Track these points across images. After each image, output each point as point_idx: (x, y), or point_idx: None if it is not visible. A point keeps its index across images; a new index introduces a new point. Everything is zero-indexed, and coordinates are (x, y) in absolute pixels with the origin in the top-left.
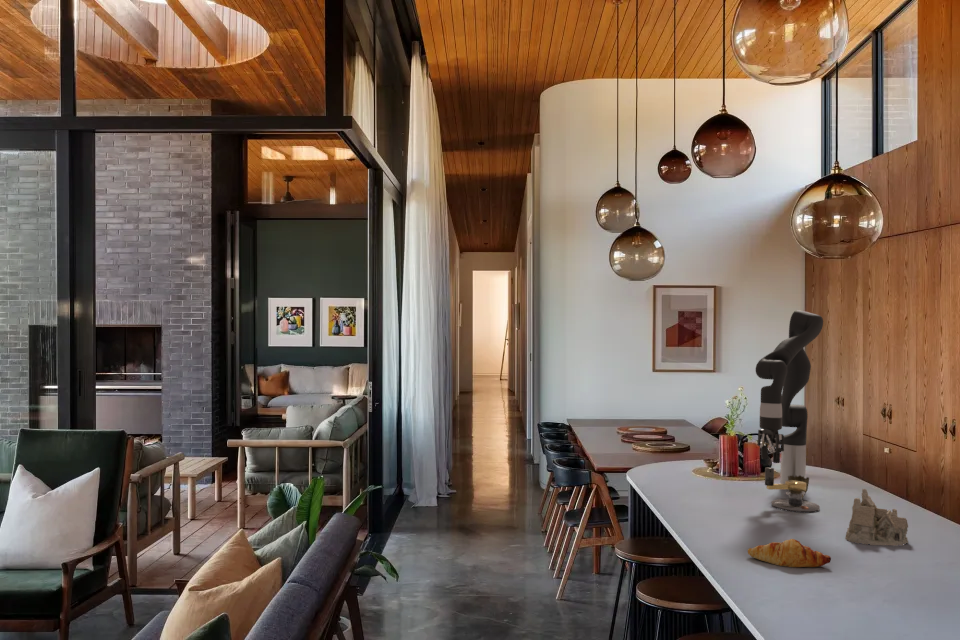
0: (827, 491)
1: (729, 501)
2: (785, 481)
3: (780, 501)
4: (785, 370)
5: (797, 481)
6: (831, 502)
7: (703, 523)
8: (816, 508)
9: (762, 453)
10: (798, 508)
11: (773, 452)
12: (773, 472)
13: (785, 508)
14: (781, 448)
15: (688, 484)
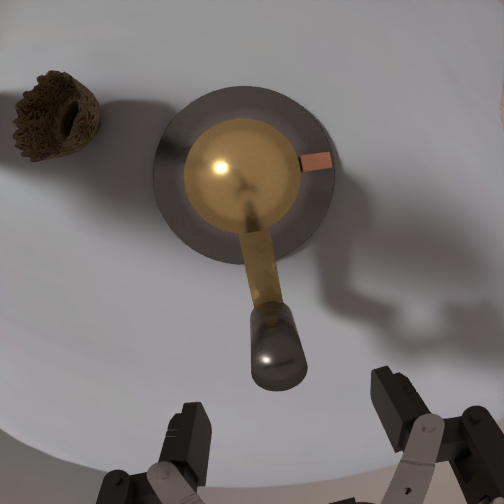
0: (18, 36)
1: (198, 376)
2: (219, 227)
3: (202, 222)
4: None
5: (207, 155)
6: (146, 27)
7: None
8: (307, 114)
9: (207, 456)
10: (318, 187)
11: (402, 450)
12: (297, 341)
13: (310, 234)
14: (482, 432)
15: (39, 397)
